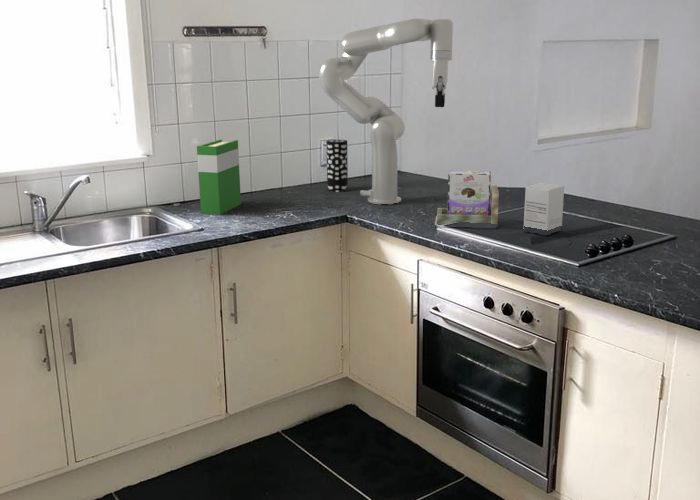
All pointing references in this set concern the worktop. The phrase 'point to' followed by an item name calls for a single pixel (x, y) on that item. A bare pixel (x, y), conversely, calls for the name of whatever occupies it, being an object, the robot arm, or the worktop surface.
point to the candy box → (469, 192)
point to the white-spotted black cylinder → (337, 166)
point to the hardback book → (218, 176)
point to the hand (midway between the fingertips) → (439, 105)
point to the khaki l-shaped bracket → (492, 217)
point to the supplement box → (543, 206)
